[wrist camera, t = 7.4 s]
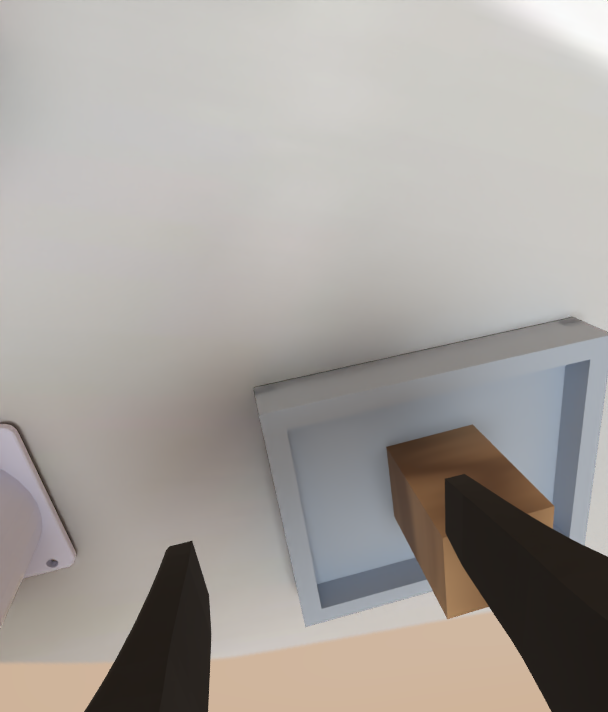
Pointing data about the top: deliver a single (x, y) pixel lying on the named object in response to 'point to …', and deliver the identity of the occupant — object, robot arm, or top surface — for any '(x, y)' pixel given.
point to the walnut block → (427, 504)
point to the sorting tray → (416, 420)
